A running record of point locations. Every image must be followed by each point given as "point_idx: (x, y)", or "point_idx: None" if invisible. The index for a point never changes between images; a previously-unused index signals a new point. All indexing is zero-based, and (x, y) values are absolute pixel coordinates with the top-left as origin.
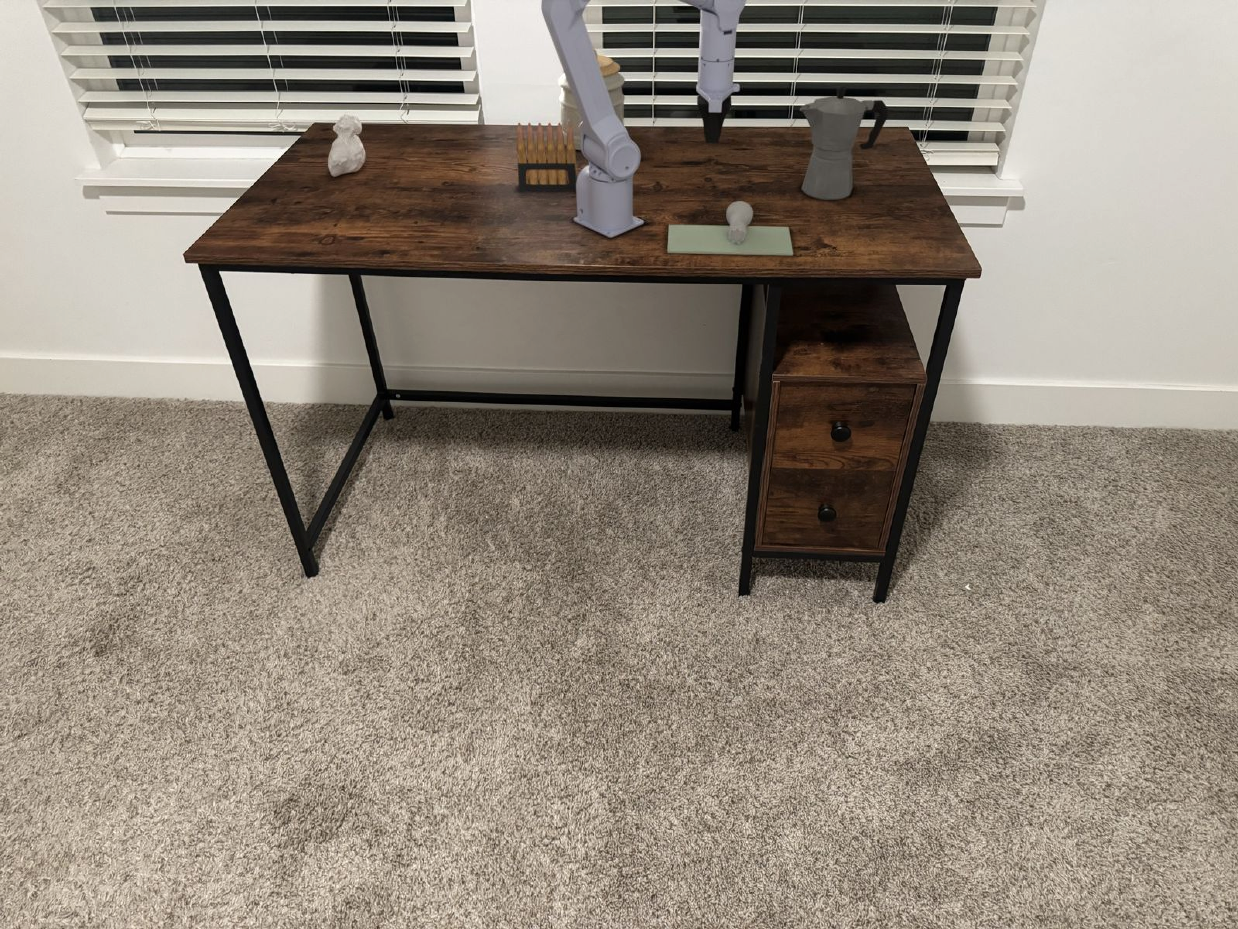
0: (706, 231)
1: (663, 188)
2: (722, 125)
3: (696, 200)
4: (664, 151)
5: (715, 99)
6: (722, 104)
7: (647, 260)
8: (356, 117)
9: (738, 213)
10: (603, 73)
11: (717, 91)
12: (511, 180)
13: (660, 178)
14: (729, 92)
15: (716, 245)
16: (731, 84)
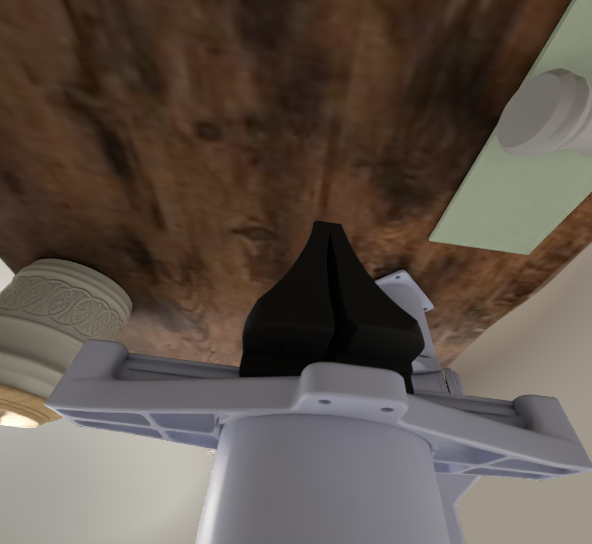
0: (496, 183)
1: (260, 225)
2: (360, 262)
3: (323, 175)
4: (73, 202)
5: (555, 474)
6: (397, 357)
7: (529, 276)
8: (215, 454)
9: (583, 135)
10: (27, 400)
11: (432, 457)
12: (241, 356)
13: (214, 224)
14: (450, 424)
15: (576, 174)
16: (399, 454)
